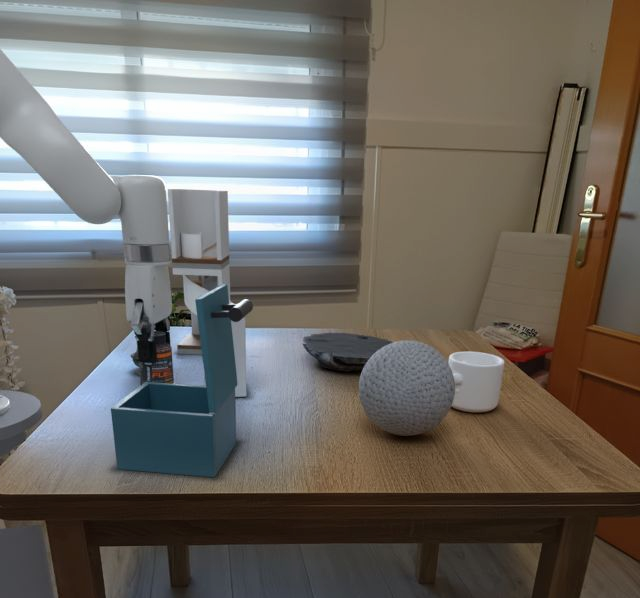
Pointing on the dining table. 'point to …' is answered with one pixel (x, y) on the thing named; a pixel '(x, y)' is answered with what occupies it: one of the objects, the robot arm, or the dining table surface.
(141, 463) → the case
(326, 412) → the dining table surface
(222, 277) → the display case
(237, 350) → the milk carton
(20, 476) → the dining table surface
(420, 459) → the dining table surface
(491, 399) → the mug
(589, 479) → the dining table surface
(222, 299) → the case lid
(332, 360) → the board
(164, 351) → the supplement bottle
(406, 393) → the decorative ball
